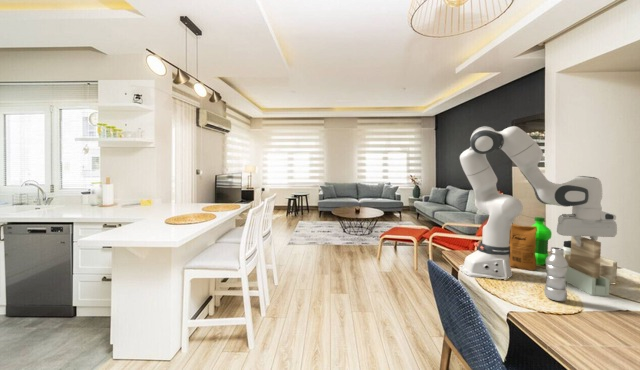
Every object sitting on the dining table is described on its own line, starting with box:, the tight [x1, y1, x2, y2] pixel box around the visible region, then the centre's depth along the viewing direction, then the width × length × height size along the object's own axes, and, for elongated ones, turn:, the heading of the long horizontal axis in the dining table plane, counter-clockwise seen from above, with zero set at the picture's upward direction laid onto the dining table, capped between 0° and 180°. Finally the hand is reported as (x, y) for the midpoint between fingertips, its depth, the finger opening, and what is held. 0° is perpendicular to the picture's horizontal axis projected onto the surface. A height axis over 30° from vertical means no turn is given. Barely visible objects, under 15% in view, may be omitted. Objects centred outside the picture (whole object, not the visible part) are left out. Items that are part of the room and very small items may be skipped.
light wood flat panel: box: [570, 236, 602, 279], centre depth 114 cm, size 2×12×15 cm, turn 171°
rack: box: [563, 253, 618, 284], centre depth 126 cm, size 10×18×10 cm, turn 171°
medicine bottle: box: [560, 239, 571, 254], centre depth 145 cm, size 7×7×12 cm
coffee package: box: [509, 223, 537, 271], centre depth 139 cm, size 10×12×22 cm
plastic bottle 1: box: [531, 216, 552, 266], centre depth 144 cm, size 10×10×25 cm
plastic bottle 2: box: [543, 246, 568, 302], centre depth 103 cm, size 6×7×20 cm
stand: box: [565, 266, 611, 297], centre depth 115 cm, size 6×17×7 cm, turn 171°
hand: (585, 246), depth 114 cm, fingers closed on light wood flat panel, 2 cm apart
